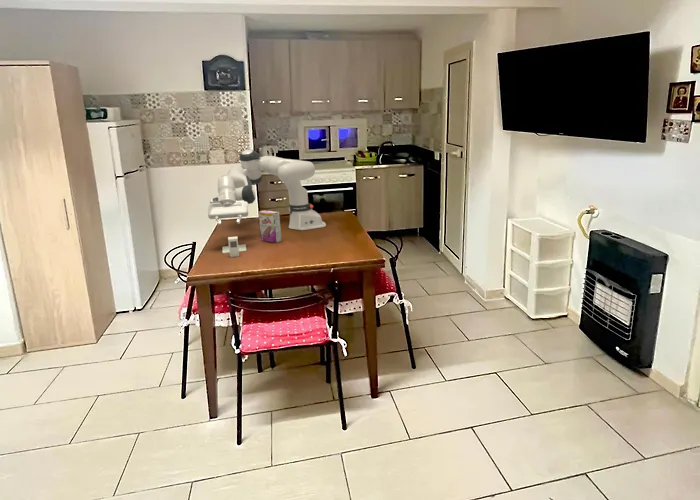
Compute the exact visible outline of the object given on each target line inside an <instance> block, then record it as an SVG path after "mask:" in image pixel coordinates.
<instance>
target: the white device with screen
mask: <svg viewBox="0 0 700 500" xmlns="http://www.w3.org/2000/svg"><path fill="white" fill-rule="evenodd" d="M227 241H228V242H227V243H228V246H229V251H230V253H229V257H230V258H233V257H235V258H236V257H240V252H239V247H238V245H239V241H238V235H237V236H228V237H227Z"/></svg>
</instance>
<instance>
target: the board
mask: <svg viewBox="0 0 700 500" xmlns="http://www.w3.org/2000/svg"><path fill="white" fill-rule="evenodd" d="M238 247H239V253H241V252H247V245H246V244H238ZM222 254H230V251H229V245H227V246H222Z"/></svg>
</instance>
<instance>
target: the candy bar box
mask: <svg viewBox="0 0 700 500" xmlns="http://www.w3.org/2000/svg"><path fill="white" fill-rule="evenodd" d="M257 213H258V221H259V222H258V223H259V233H260V241H261V242H267V243H275V244H277V243H279V242H282V239H283V238H282V229H281V217H280V216H281V215H280V212H279V211H272V210H261V211H258V212H257Z"/></svg>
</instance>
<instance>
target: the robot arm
mask: <svg viewBox="0 0 700 500" xmlns="http://www.w3.org/2000/svg"><path fill="white" fill-rule="evenodd" d="M239 161H240V165H239V164H236V165H232V166H231V167H230V169H229V170H228V171H227V173H226V174H227V175H226V174H225V175H222V176H220V177H218V180H217V193H218V196H216V197H213V198H211V199H210V200H209V205H208V208H207V215H208V219H209V220H215V221H216V222H217V225H218V226H222V220H221V219H232V218H237V219H236V224H237V225H239V224H241V220H242V218H245V217H248V216H249V209H248V207H249V205H250V204H253V203H254V202H255V200H256V192H255V189H254V188H253V186H255V185H259V184H260V183H261V182H262V181H263V173H262V171H263V172H265V173H267V174H269V175H273V176H275V177H278V179H279V180H280V181H281V182H282V183H283V184H284V185H285V187H286V189H287V192H288V199H289V204H288V212H289V224H288V228H289V229H291V230H298V231H306V230H307V231H308V230H315V229H320V228H325V227H326V226H327V224H326V222H325V221H324V220H323V219H322V216H321V215H320V213H318V212H317V211H316V210H313V208H314V205H313V204H312V203H309V196H308V189H306V188H305V187H304V186H303V185H302V183H301V181H302V180H303V181H305V180H308V179H310V178H312V177H314V175H315V172H316V168H315V165H314V163H313V162H312V161H308V160H301V159H291V158H283V157H278V156H275V155H264V156H261V154H260V153H259V152H257V151H256V150H254V149H245V150H242V151H241V152H240V154H239ZM219 219H220V220H219Z"/></svg>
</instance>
